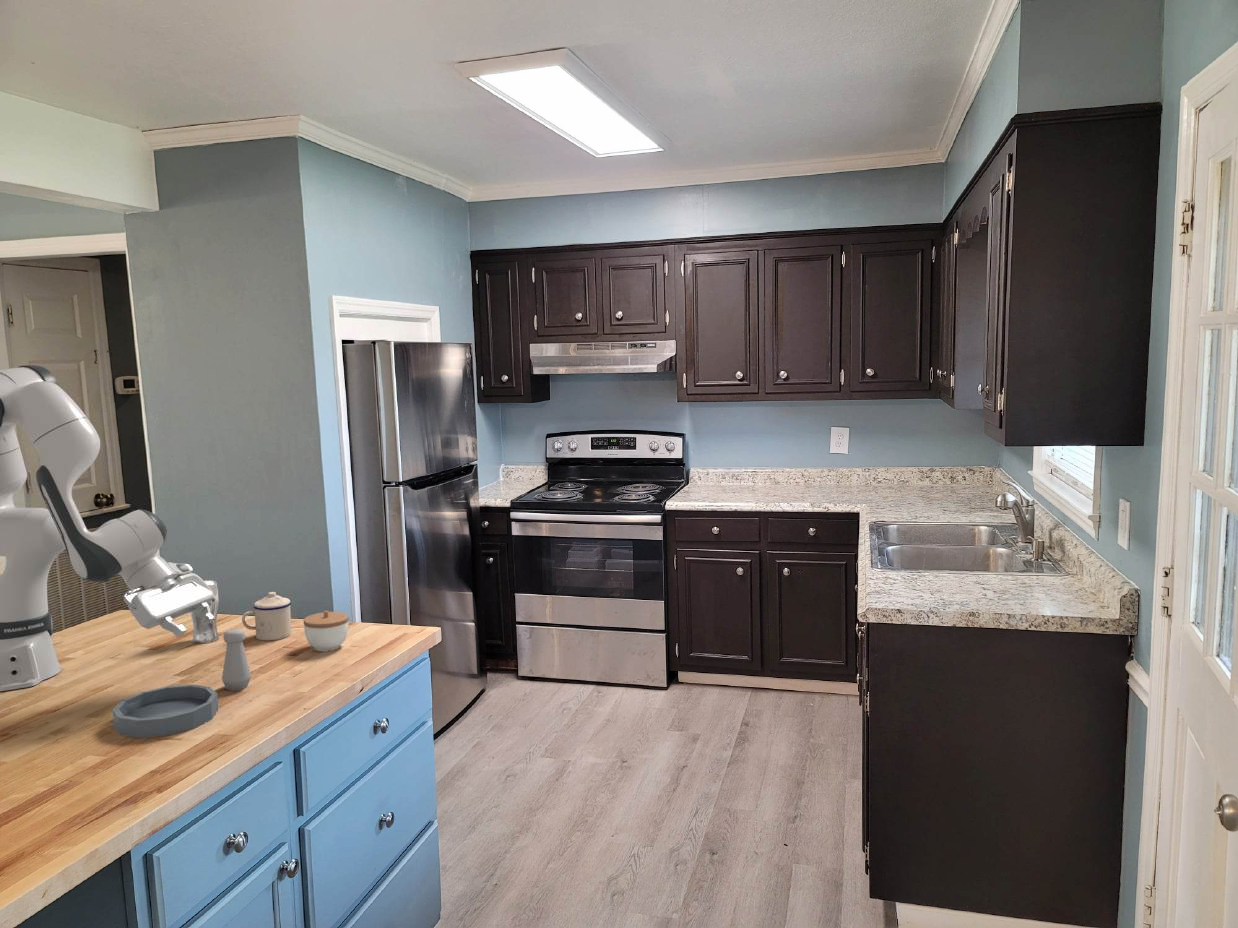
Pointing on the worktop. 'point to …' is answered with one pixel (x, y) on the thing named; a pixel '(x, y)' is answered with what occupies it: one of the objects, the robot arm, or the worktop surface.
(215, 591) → the beer glass
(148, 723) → the bowl
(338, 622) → the lidded jar
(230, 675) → the salt shaker
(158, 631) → the worktop surface
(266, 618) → the teacup with lid
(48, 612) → the robot arm
